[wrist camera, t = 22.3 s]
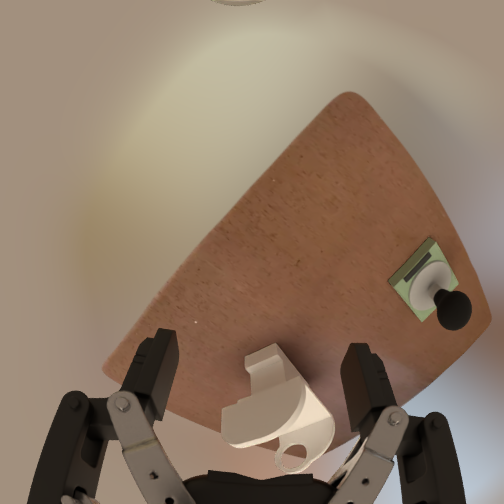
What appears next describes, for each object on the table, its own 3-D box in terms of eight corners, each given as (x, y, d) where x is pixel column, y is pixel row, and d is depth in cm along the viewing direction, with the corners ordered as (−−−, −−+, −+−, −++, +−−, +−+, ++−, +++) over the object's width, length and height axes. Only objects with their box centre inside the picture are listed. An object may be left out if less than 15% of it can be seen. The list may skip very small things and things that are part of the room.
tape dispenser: (321, 378, 48) (344, 457, 32) (263, 403, 50) (270, 479, 34) (290, 334, 43) (311, 428, 27) (223, 365, 45) (220, 455, 29)
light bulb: (447, 284, 38) (481, 315, 29) (425, 308, 40) (455, 343, 31) (436, 265, 37) (474, 296, 27) (412, 291, 38) (445, 327, 29)
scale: (387, 280, 40) (395, 289, 38) (428, 236, 38) (438, 243, 35) (416, 315, 44) (423, 324, 41) (452, 278, 41) (460, 285, 39)
